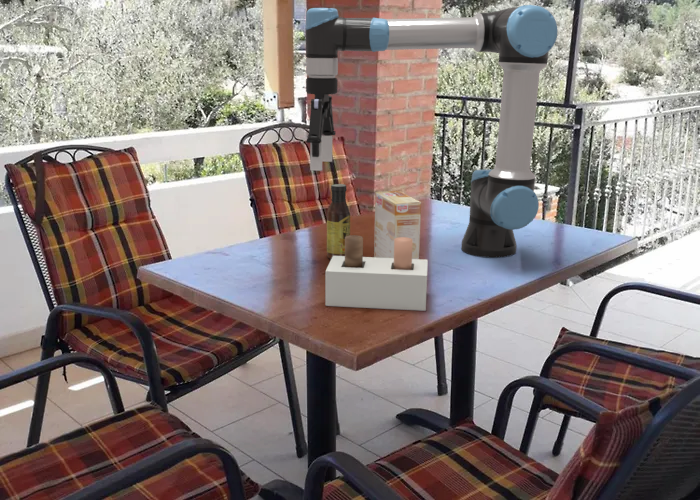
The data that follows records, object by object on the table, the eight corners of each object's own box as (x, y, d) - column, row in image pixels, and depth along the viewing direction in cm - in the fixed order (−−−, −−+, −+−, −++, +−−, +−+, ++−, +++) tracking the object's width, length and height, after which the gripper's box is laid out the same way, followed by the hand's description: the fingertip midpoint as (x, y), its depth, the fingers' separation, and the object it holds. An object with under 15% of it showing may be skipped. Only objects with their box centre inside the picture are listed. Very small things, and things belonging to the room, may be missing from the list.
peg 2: (411, 271, 160) (412, 237, 158) (411, 277, 156) (412, 242, 154) (393, 270, 161) (394, 236, 159) (392, 276, 157) (393, 241, 155)
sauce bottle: (347, 261, 188) (347, 188, 183) (324, 260, 189) (324, 187, 184) (352, 255, 194) (352, 183, 189) (329, 253, 196) (329, 182, 190)
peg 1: (363, 269, 162) (363, 235, 159) (361, 274, 158) (361, 240, 155) (345, 268, 162) (346, 234, 160) (343, 274, 158) (343, 239, 156)
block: (426, 292, 165) (427, 259, 163) (425, 310, 154) (427, 275, 152) (332, 288, 168) (333, 255, 166) (325, 305, 156) (325, 271, 154)
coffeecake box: (419, 279, 175) (422, 201, 169) (392, 281, 173) (394, 203, 167) (398, 262, 189) (400, 189, 183) (372, 264, 187) (374, 191, 181)
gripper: (316, 74, 181) (316, 157, 186) (294, 78, 157) (295, 173, 163) (345, 75, 179) (344, 158, 185) (327, 79, 156) (327, 174, 162)
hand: (321, 165), depth 174 cm, fingers open, 13 cm apart
